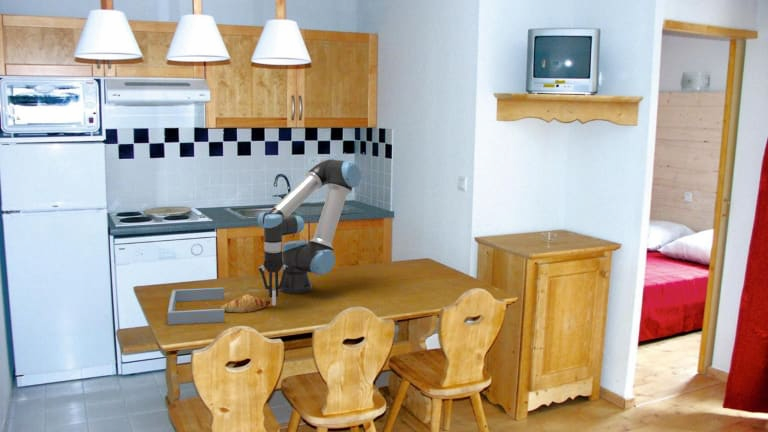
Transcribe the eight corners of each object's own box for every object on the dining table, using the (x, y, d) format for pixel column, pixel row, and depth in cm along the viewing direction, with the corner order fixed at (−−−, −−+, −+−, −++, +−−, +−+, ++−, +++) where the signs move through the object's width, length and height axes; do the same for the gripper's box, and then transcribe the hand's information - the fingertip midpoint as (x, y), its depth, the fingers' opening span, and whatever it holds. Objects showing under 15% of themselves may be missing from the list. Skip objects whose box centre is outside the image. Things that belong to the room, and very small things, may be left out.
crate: (223, 298, 315) (223, 287, 314) (224, 321, 283) (224, 309, 283) (172, 300, 310) (172, 289, 309) (167, 324, 278) (167, 312, 278)
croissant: (222, 322, 294) (223, 308, 289) (218, 305, 301) (218, 291, 296) (272, 315, 302) (273, 302, 297) (266, 299, 309) (268, 286, 305)
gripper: (287, 248, 304) (288, 301, 308) (257, 249, 301) (258, 302, 305) (289, 252, 297) (289, 306, 301) (258, 253, 294) (259, 307, 298)
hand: (273, 304), depth 303 cm, fingers closed
